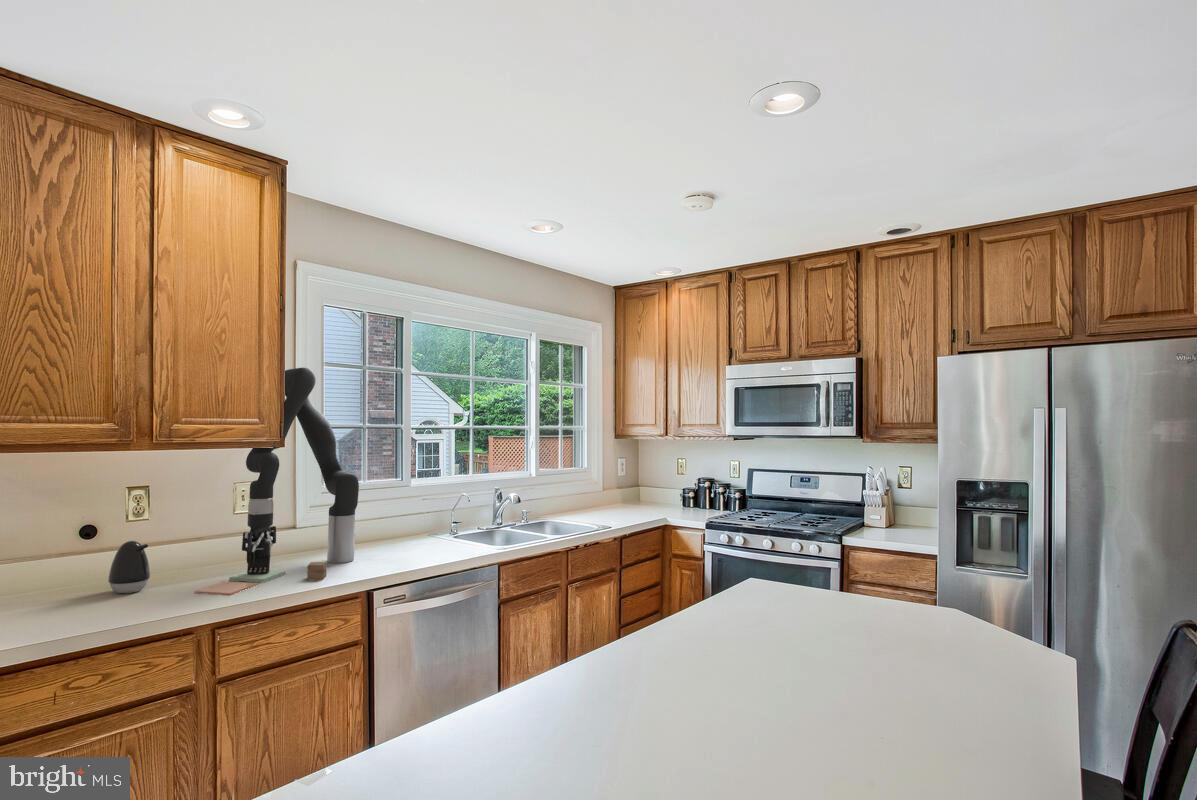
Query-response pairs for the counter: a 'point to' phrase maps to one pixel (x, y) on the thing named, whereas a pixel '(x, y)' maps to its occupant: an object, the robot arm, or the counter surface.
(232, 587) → the terracotta tile
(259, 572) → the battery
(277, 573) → the sage tile
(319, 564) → the walnut block
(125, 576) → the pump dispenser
